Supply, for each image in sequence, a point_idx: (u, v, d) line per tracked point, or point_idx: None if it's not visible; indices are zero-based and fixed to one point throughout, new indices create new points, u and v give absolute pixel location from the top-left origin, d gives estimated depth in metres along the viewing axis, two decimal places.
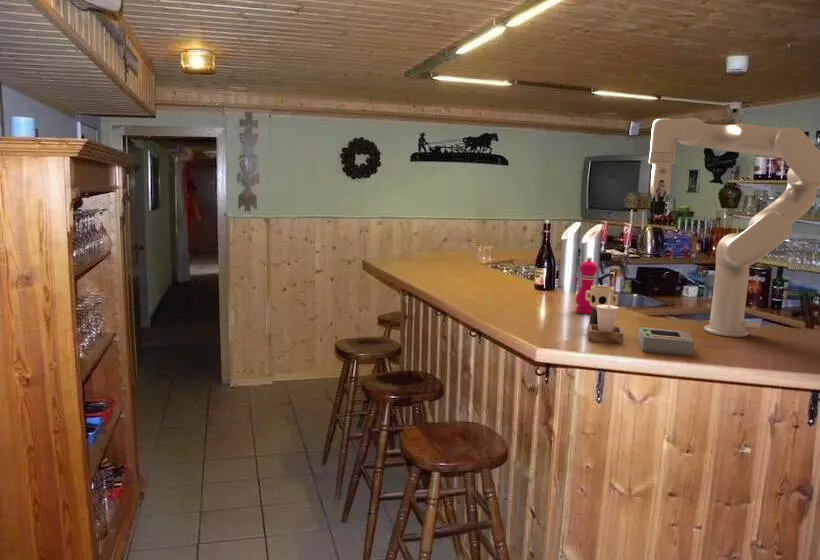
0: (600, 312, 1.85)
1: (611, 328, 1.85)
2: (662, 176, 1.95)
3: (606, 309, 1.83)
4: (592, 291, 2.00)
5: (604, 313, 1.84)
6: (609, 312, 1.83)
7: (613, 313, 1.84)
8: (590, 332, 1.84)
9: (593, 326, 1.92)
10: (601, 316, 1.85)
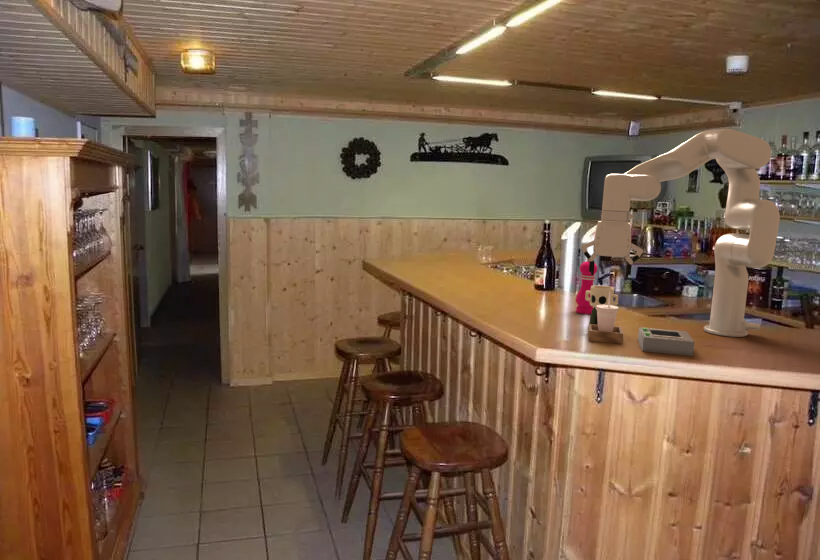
0: (600, 312, 1.85)
1: (611, 328, 1.85)
2: None
3: (606, 309, 1.83)
4: (592, 291, 2.00)
5: (604, 313, 1.84)
6: (609, 312, 1.83)
7: (613, 313, 1.84)
8: (590, 332, 1.84)
9: (593, 326, 1.92)
10: (601, 316, 1.85)
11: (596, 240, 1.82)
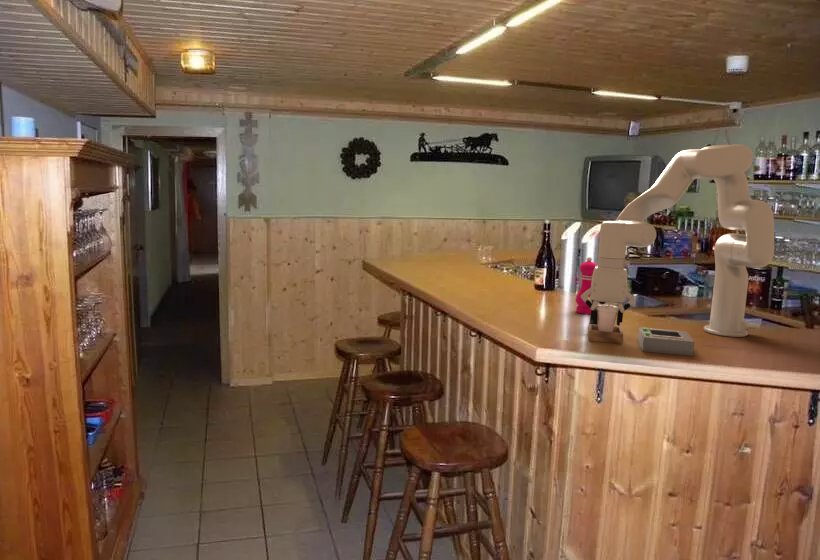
0: (600, 312, 1.85)
1: (611, 328, 1.85)
2: None
3: (606, 309, 1.83)
4: None
5: (604, 313, 1.84)
6: (609, 312, 1.83)
7: (613, 313, 1.84)
8: (590, 332, 1.84)
9: (593, 326, 1.92)
10: (601, 316, 1.85)
11: (593, 286, 1.84)
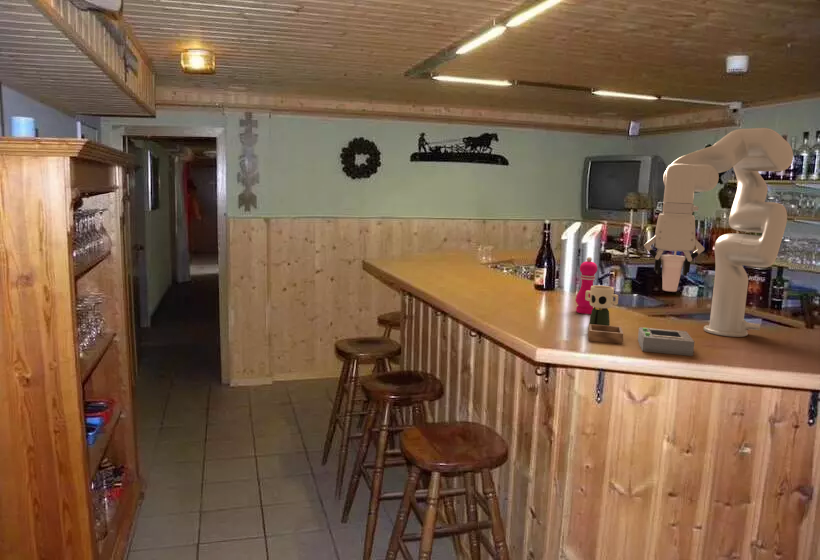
0: (666, 261, 1.74)
1: (677, 278, 1.74)
2: None
3: (673, 258, 1.72)
4: (592, 291, 2.00)
5: (670, 262, 1.73)
6: (676, 261, 1.72)
7: (680, 262, 1.73)
8: (590, 332, 1.84)
9: (593, 326, 1.92)
10: (667, 266, 1.74)
11: (658, 234, 1.73)
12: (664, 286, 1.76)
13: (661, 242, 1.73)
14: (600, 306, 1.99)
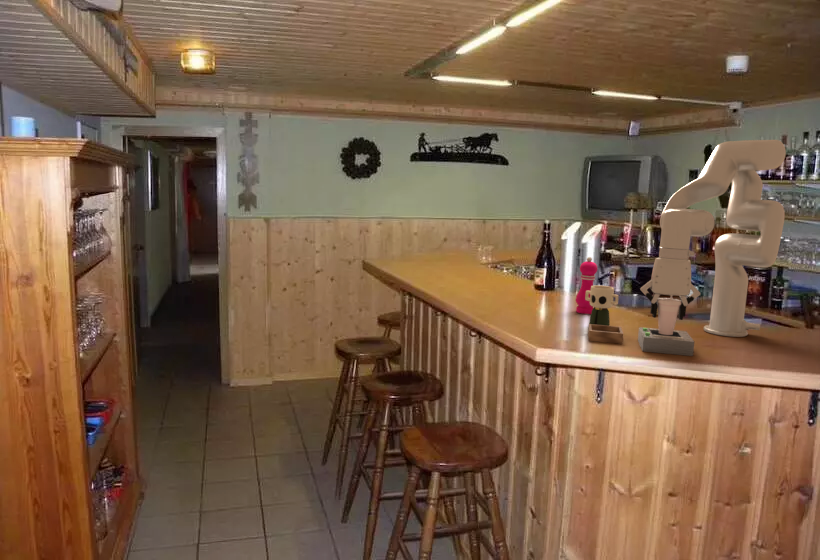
0: (662, 305, 1.75)
1: (673, 322, 1.76)
2: None
3: (669, 302, 1.74)
4: (592, 291, 2.00)
5: (667, 306, 1.75)
6: (672, 305, 1.74)
7: (676, 307, 1.74)
8: (590, 332, 1.84)
9: (593, 326, 1.92)
10: (663, 310, 1.75)
11: (654, 278, 1.75)
12: (660, 329, 1.77)
13: (657, 286, 1.75)
14: (600, 306, 1.99)
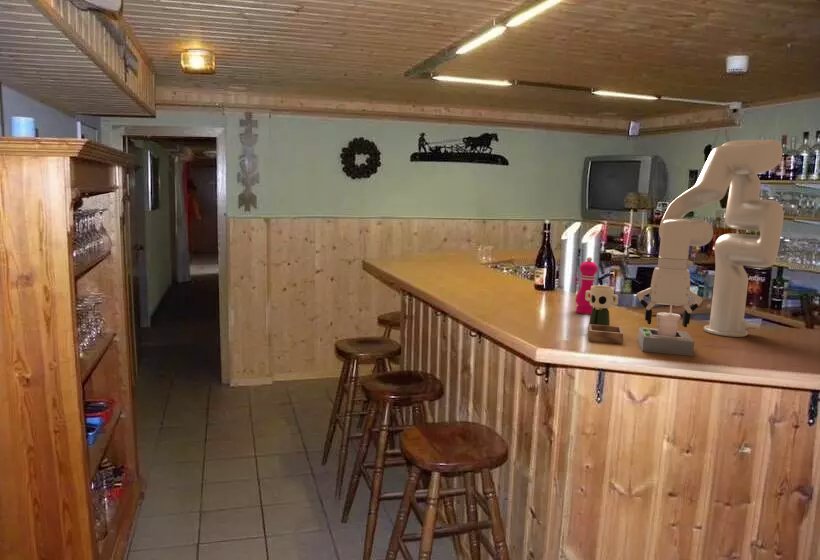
0: (662, 320, 1.76)
1: None
2: None
3: (668, 317, 1.75)
4: (592, 291, 2.00)
5: (666, 321, 1.75)
6: (672, 320, 1.75)
7: (676, 321, 1.75)
8: (590, 332, 1.84)
9: (593, 326, 1.92)
10: (663, 324, 1.76)
11: (653, 288, 1.76)
12: None
13: (656, 296, 1.75)
14: (600, 306, 1.99)
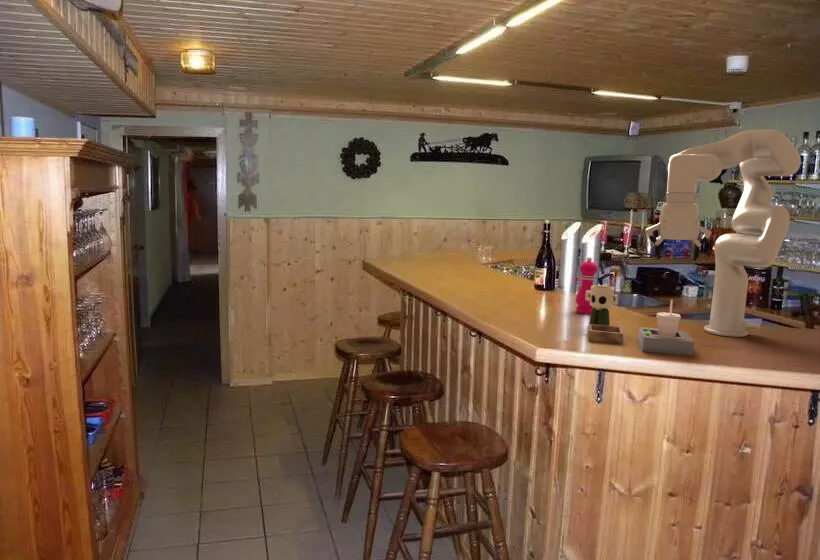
0: (662, 320, 1.76)
1: None
2: None
3: (668, 317, 1.75)
4: (592, 291, 2.00)
5: (666, 321, 1.75)
6: (672, 320, 1.75)
7: (676, 321, 1.75)
8: (590, 332, 1.84)
9: (593, 326, 1.92)
10: (663, 324, 1.76)
11: (662, 223, 1.77)
12: None
13: (665, 231, 1.77)
14: (600, 306, 1.99)
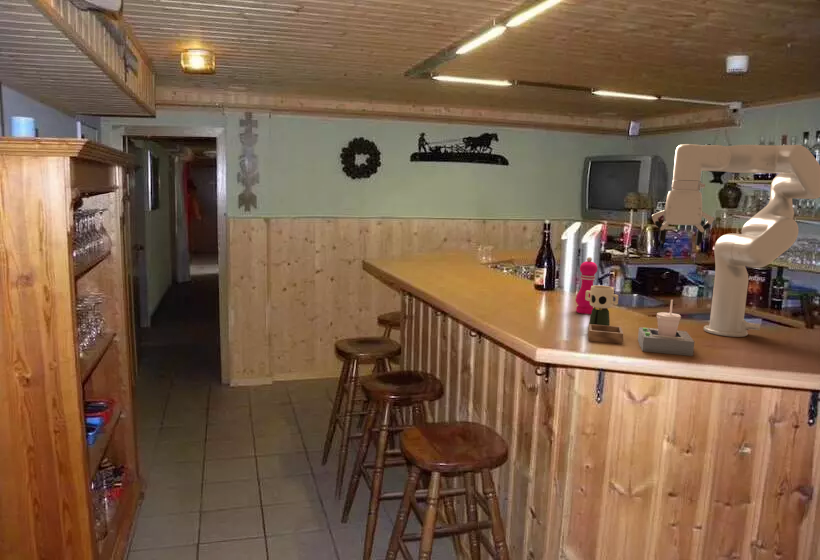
0: (662, 320, 1.76)
1: None
2: None
3: (668, 317, 1.75)
4: (592, 291, 2.00)
5: (666, 321, 1.75)
6: (672, 320, 1.75)
7: (676, 321, 1.75)
8: (590, 332, 1.84)
9: (593, 326, 1.92)
10: (663, 325, 1.76)
11: (668, 209, 1.88)
12: None
13: (670, 217, 1.88)
14: (600, 306, 1.99)
